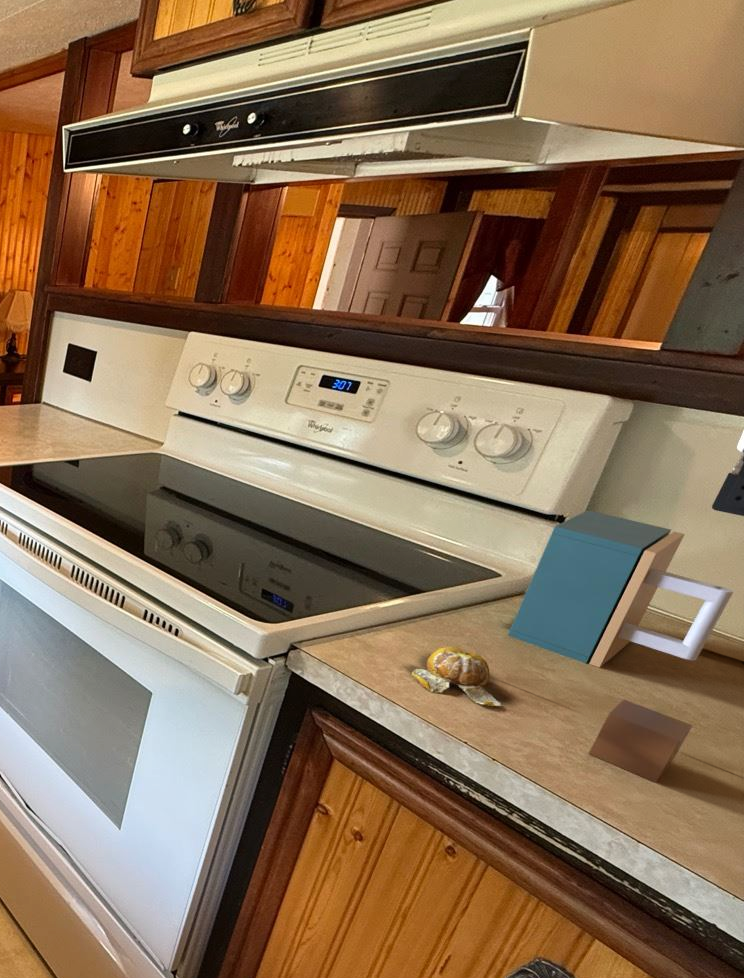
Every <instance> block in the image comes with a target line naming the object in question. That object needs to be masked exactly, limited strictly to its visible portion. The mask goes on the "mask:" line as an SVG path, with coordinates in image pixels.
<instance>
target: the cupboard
mask: <svg viewBox="0 0 744 978" xmlns="http://www.w3.org/2000/svg"><path fill="white" fill-rule="evenodd" d="M671 532H672V529H671V528H666V527H662V526H658V525H654V524H649V523H645V522H640V521H637V520H632V519H628V518H624V517H619V516H616V515H615V516H614V515H611V514H606V513H603V512H597V511H593V510H589V509H588V510H586V511H583V512H581V513H579V514H576V515H575V516H573V517H571V518H569V519H567V520H565V521H563V522H561V523H558V524H556V525H555V526H554V528H553V530H552V532H551V534H550V537H549V539H548V541H547V543H546V546H545V548H544V550H543V552H542V555H541V557H540V558H539V559H540V560H539V561H538V565H536V566H537V567H536V569H535V570H534V573H533V576H532V578H531V580H530V582H529V585H528V586H527V589H526V591H525V594H524V596H523V599H522V601H521V603H520V606H519V609H518V610H517V613H516V614H515V617H514V619H513V621H512V624H511V627H510V629H509V631H508V633H507V636H508V637H509V638H514V639H516V640H519V641H522V642H525V643H526V644H527V643H528V644H530V645H533V646H536V647H538V648H541V649H544V650H547V651H549V652H553V653H555V654H558V655H561V656H563V657H567V658H569V659H572V660H574V661H578V662H580V663H584V664H588V663H590V661H591V659H592V657H593V655H594V653H595V651H596V649H597V647H598V645H599V643H600V641H601V639H602V637H603V635H604V633H605V631H606V629H607V627H608V625H609V623H610V621H611V619H612V617H613V615H614V613H615V610H616V608H617V606H618V604H619V602H620V600H621V598H622V596H623V594H624V592H625V590H626V588H627V586H628V584H629V582H630V580H631V578H632V576H633V574H634V572H635V570H636V568H637V566H638V564H639V562H640V560H641V557H642V555H643V553H644V551H645V550H647V549H648V548H650V547H651V546H653V545H654V544H656V543H657V542H659V541H660V540H662V539H663V538H665V537H666V536H668V535H669V534H671Z"/></svg>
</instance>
